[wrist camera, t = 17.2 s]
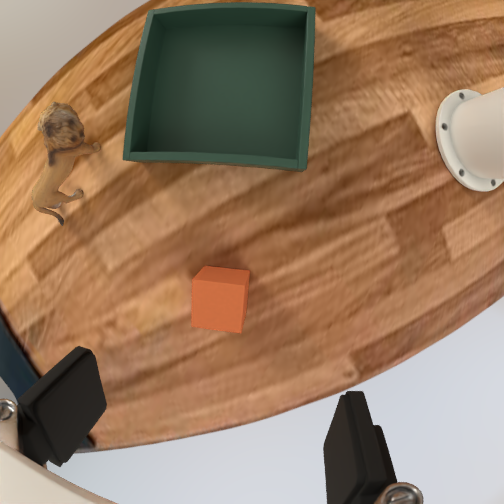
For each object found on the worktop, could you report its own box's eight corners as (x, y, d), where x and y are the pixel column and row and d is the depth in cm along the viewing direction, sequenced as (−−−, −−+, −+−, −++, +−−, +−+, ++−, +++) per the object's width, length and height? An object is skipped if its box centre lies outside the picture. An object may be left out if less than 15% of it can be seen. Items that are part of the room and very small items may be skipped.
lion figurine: (81, 109, 30) (35, 96, 21) (112, 117, 30) (67, 101, 21) (52, 218, 33) (5, 229, 24) (80, 232, 33) (33, 246, 24)
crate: (311, 25, 26) (315, 7, 22) (302, 172, 30) (306, 169, 25) (161, 26, 27) (148, 10, 23) (140, 162, 31) (122, 160, 27)
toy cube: (250, 270, 32) (245, 285, 27) (246, 313, 33) (241, 333, 29) (204, 265, 33) (192, 279, 28) (202, 307, 34) (191, 326, 29)
